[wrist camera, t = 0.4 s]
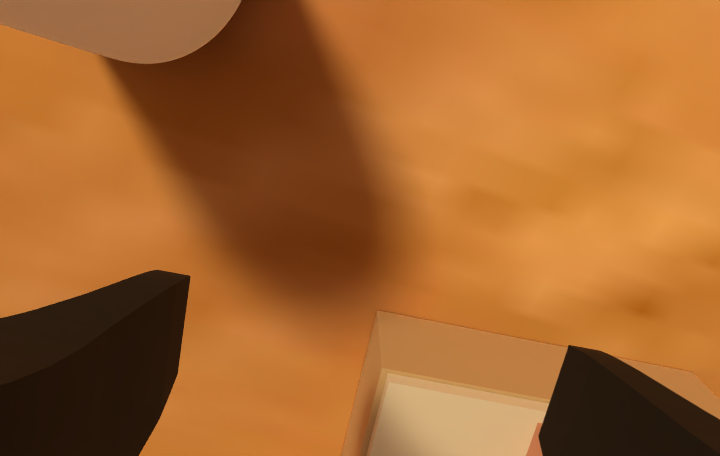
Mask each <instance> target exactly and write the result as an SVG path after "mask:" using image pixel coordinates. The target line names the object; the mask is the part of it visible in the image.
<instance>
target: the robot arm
mask: <svg viewBox="0 0 720 456" xmlns="http://www.w3.org/2000/svg"><path fill="white" fill-rule="evenodd" d="M189 283H190V276H188V275H183V274H177V273H172V272H166V271H161V270H153V271H149V272H145V273H142V274H139V275H136V276H133V277H131V278H128V279H125V280H122V281H120V282H117V283H114V284H112V285H109V286H106V287H103V288H100V289H98V290H95V291H92V292H89V293H87V294H84V295H81V296H78V297H74V298H71V299H68V300H65V301H62V302H58V303H55V304H52V305H49V306H46V307H42V308H39V309H36V310H32V311H28V312H25V313H21V314H17V315H13V316H9V317H4V318H0V456H139V454H140V452H141V450H142V449H143V447H144V445H145V443H146V442H147V440H148V438H149V436H150V435H151V433H152V431H153V429H154V428H155V426H156V424H157V422H158V420H159V419H160V416H161V414H162V412H163V409H164V407H165V404H166V402H167V400H168V397H169V395H170V392H171V389H172V387H173V384H174V382H175V379H176V377H177V374H178V366H179V359H180V351H181V344H182V336H183V328H184V321H185V313H186V306H187V298H188V291H189ZM538 437H539V442H540V446H541V450H542V455H543V456H720V419H718V418H717V417H715V416H713V415H712V414H710V413H708V412H706V411H705V410H703V409H701V408H700V407H698V406H696V405H695V404H693V403H691V402H690V401H688V400H687V399H685V398H683V397H682V396H680V395H678V394H677V393H675V392H673V391H672V390H670V389H669V388H667V387H665V386H664V385H662V384H660V383H659V382H657V381H655V380H654V379H652V378H651V377H649V376H647V375H646V374H644V373H642V372H641V371H639V370H637V369H635V368H634V367H632V366H630V365H628V364H627V363H625V362H623V361H621V360H619V359H617V358H615V357H613V356H611V355H609V354H607V353H604V352H602V351H598V350H593V349H587V348H582V347H577V346H571V345H569V346H568V349H567V352H566V355H565V358H564V361H563V364H562V367H561V370H560V373H559V376H558V379H557V382H556V385H555V388H554V391H553V394H552V397H551V399H550V402H549V405H548V408H547V411H546V414H545V417H544V420H543V423H542V426H541V429H540V432H539V435H538Z"/></svg>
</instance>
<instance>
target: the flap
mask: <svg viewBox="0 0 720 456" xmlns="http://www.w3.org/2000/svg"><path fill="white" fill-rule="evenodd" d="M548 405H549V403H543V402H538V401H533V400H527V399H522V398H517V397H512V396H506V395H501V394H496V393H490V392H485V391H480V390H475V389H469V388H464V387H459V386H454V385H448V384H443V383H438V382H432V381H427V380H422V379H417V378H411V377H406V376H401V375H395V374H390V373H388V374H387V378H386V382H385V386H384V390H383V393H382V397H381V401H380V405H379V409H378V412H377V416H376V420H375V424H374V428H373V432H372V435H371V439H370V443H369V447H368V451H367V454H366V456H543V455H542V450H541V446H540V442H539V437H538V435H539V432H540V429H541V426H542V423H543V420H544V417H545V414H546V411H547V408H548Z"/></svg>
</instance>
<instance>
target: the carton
mask: <svg viewBox="0 0 720 456" xmlns="http://www.w3.org/2000/svg"><path fill="white" fill-rule="evenodd" d="M567 349H568V348H567V347H562V346H557V345H551V344H546V343H541V342H536V341H531V340H526V339H521V338H516V337H511V336H506V335H501V334H496V333H490V332H485V331H480V330H475V329H470V328H465V327H460V326H455V325H450V324H445V323H440V322H435V321H429V320H424V319H419V318H414V317H409V316H404V315H399V314H394V313H389V312H384V311H379V310H377V313H376V317H375V321H374V325H373V329H372V333H371V337H370V341H369V345H368V349H367V353H366V357H365V361H364V365H363V370H362V374H361V378H360V382H359V386H358V390H357V394H356V398H355V402H354V406H353V410H352V414H351V418H350V422H349V426H348V430H347V434H346V438H345V442H344V446H343V450H342V454H341V456H366V454H367V451H368V447H369V443H370V439H371V435H372V432H373V428H374V424H375V420H376V416H377V412H378V409H379V405H380V401H381V397H382V393H383V390H384V386H385V382H386V378H387V374H388V373H390V374H395V375H401V376H406V377H411V378H417V379H422V380H427V381H432V382H438V383H443V384H448V385H454V386H459V387H464V388H469V389H475V390H480V391H485V392H490V393H496V394H501V395H506V396H512V397H517V398H522V399H527V400H533V401H538V402H543V403H549V402H550V399H551V397H552V394H553V391H554V388H555V385H556V382H557V379H558V376H559V373H560V370H561V367H562V364H563V361H564V358H565V355H566V352H567ZM615 358H617V359H619V360H621V361H623V362H625V363H627V364H628V365H630V366H632V367H634V368H635V369H637V370H639V371H641V372H642V373H644V374H646V375H647V376H649V377H651V378H652V379H654V380H655V381H657V382H659V383H660V384H662V385H664V386H665V387H667V388H669V389H670V390H672V391H673V392H675V393H677V394H678V395H680V396H682V397H683V398H685V399H687V400H688V401H690V402H691V403H693V404H695V405H696V406H698V407H700V408H701V409H703V410H705V411H706V412H708V413H710V414H712V415H713V416H715V417H717V418H718V419H720V399H719V398H718V397H717V396H716V395H715V394H714V393H713V392H712V391H711V390H710V389H709V388H708V387H707V386H706V385H705V384H704V383H703V382H702V381H701V380H700V379H699V378H698V377H697V376H696V375H695V374H694V373H693V372H689V371H684V370H679V369H673V368H668V367H663V366H658V365H653V364H648V363H643V362H638V361H633V360H628V359H623V358H618V357H615Z"/></svg>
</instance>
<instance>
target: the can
mask: <svg viewBox="0 0 720 456" xmlns="http://www.w3.org/2000/svg"><path fill="white" fill-rule="evenodd" d="M241 1H242V0H0V24H1V25H4V26H8V27H11V28H14V29H17V30H20V31H24V32H27V33H30V34H33V35H36V36H40V37H43V38H46V39H49V40H53V41H56V42H59V43H62V44H65V45H69V46H72V47H75V48H78V49H82V50H85V51H88V52H91V53H95V54H98V55H102V56H105V57H108V58H112V59H116V60H120V61H124V62H130V63H138V64H155V63H163V62H168V61H172V60H175V59H178V58H181V57H183V56H186V55H188V54H190V53H192V52H194V51H196V50H197V49H199V48H201V47H202V46H204V45H205V44H206V43H208V42H209V41H210V40H211V39H213V38H214V37H215V36H216V35H217V34H218V33H219V32H220V31H221V30H222V29H223V28H224V27H225V25H226V24H227V23H228V22H229V20H230V19H231V18H232V16H233V15H234V13H235V12H236V10H237V8H238V6H239V5H240V3H241Z"/></svg>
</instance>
